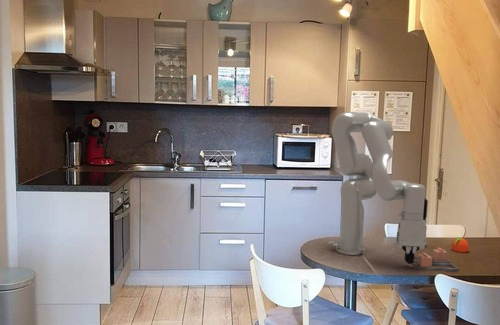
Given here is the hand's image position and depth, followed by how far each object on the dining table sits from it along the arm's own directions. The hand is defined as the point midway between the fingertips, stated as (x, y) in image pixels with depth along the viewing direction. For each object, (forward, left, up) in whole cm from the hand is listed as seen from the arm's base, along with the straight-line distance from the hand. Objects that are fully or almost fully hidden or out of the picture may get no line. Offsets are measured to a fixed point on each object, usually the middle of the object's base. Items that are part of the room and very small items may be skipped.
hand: (409, 262), depth 173 cm
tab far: (+15, +8, -2) cm, 17 cm away
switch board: (+10, +4, -3) cm, 12 cm away
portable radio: (+15, +32, -3) cm, 35 cm away
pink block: (+6, 0, -2) cm, 6 cm away
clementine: (+30, +24, -3) cm, 39 cm away
